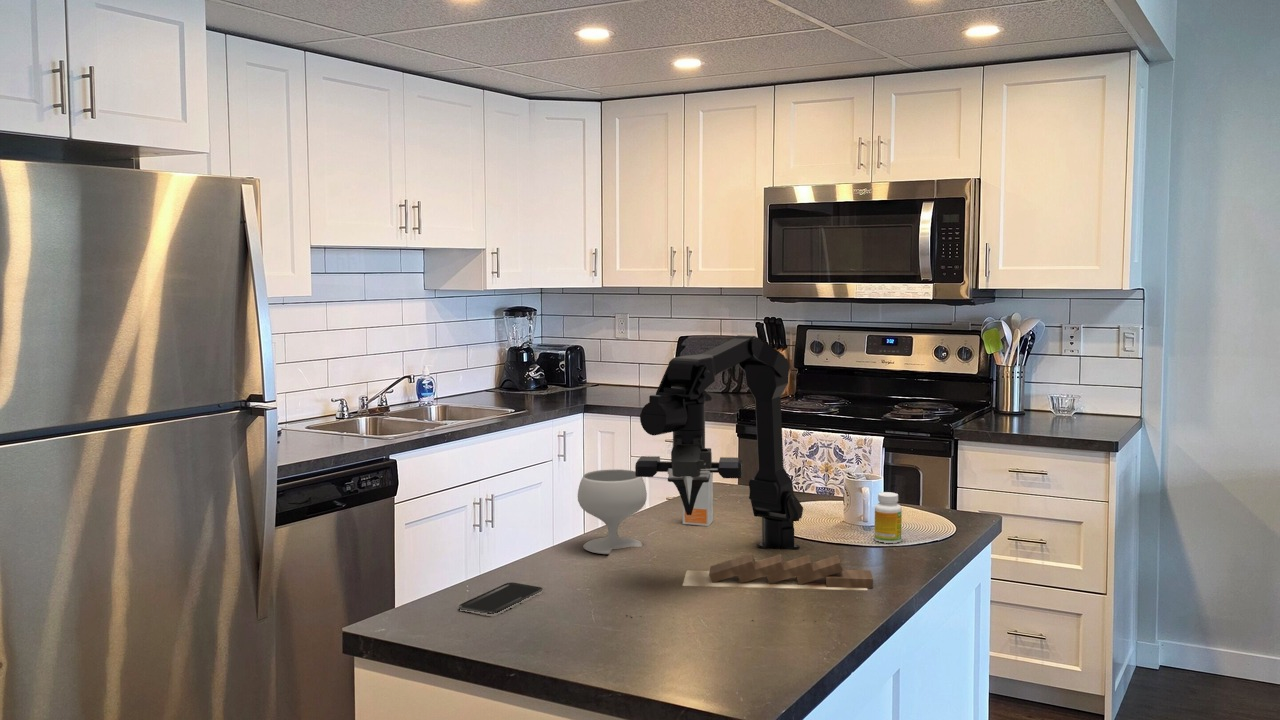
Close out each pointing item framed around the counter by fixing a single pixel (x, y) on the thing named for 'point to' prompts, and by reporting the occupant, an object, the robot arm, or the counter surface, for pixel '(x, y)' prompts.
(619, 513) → the chalice
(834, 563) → the domino
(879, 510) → the supplement bottle
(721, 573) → the domino
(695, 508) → the skincare box
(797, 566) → the domino
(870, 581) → the domino
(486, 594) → the phone
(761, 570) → the domino
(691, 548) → the counter surface
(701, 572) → the domino board
